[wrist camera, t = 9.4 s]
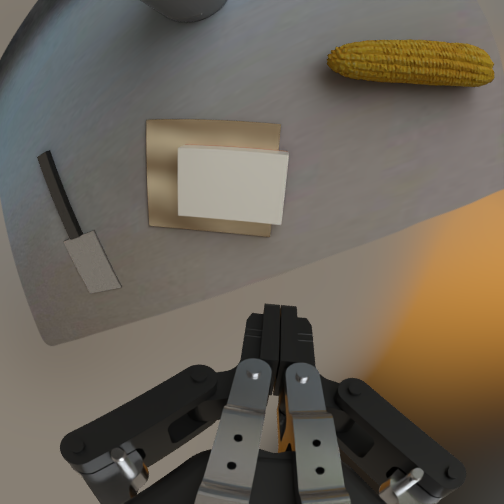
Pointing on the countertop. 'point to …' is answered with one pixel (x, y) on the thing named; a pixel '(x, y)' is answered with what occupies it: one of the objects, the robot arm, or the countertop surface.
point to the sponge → (232, 183)
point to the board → (166, 167)
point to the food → (413, 62)
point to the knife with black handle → (79, 236)
